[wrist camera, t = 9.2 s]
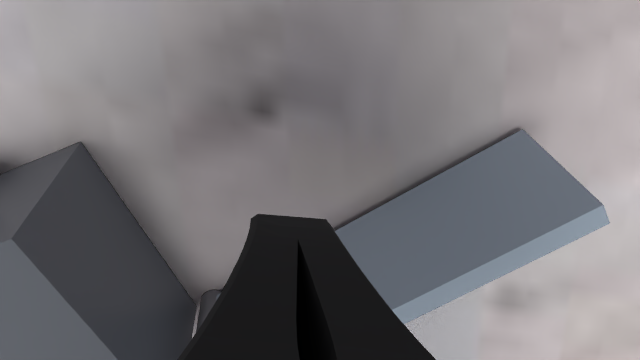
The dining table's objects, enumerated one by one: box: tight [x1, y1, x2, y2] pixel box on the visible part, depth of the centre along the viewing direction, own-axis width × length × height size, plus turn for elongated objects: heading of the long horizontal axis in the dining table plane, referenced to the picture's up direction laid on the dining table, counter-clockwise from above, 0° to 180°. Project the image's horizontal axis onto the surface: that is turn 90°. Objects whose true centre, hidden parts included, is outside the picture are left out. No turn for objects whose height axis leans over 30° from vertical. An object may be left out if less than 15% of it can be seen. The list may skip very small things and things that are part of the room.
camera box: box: [0, 142, 196, 360], centre depth 18 cm, size 10×7×7 cm
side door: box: [196, 129, 610, 332], centre depth 19 cm, size 16×2×6 cm, turn 121°
